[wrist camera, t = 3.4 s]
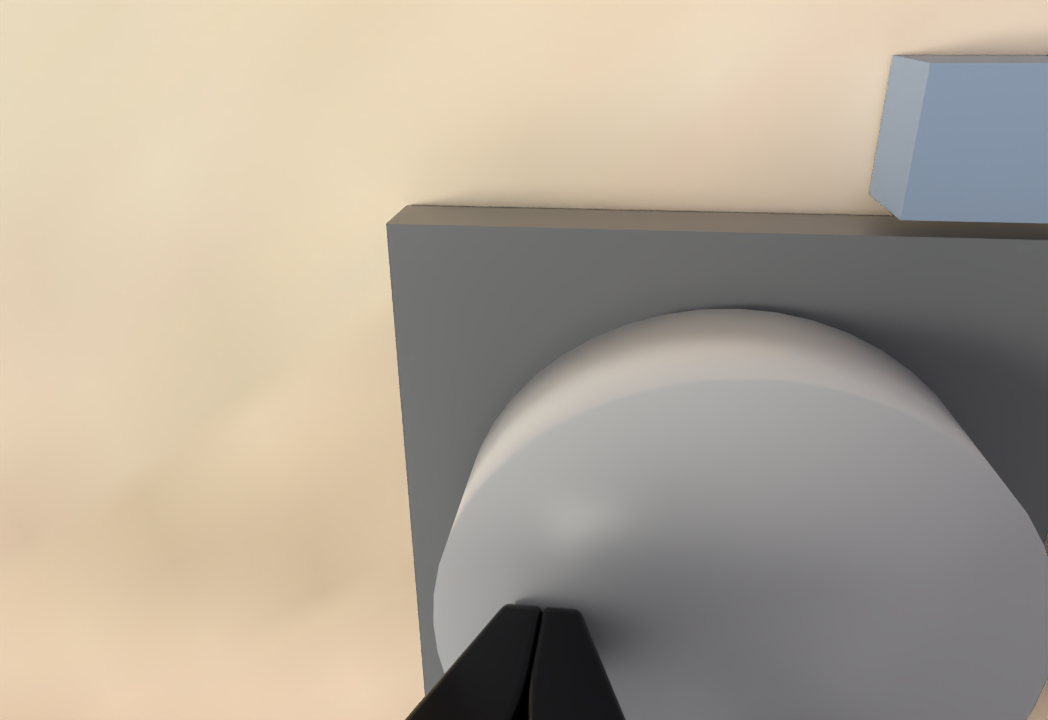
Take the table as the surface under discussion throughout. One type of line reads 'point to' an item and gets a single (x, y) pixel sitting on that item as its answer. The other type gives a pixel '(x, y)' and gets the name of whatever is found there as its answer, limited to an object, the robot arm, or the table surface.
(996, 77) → the lane
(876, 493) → the dome
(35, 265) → the table surface
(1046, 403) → the dome base
